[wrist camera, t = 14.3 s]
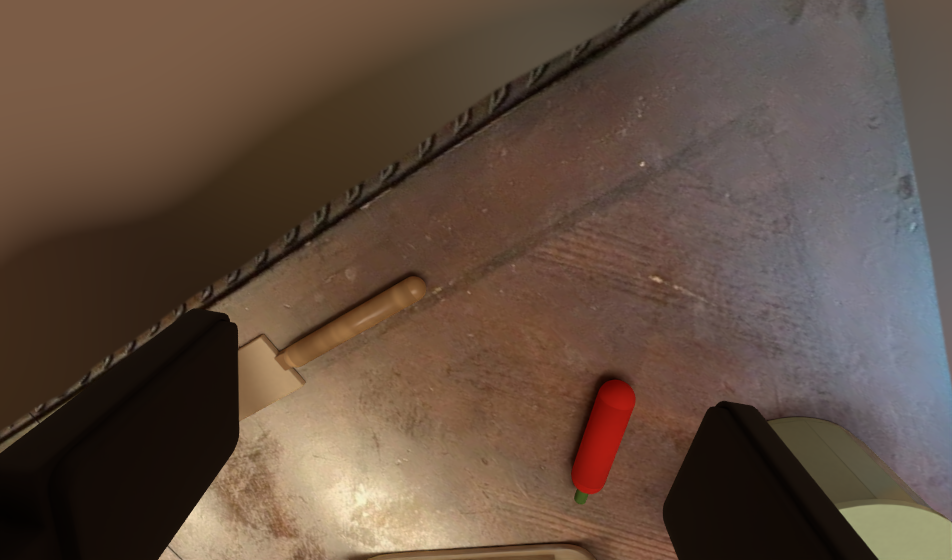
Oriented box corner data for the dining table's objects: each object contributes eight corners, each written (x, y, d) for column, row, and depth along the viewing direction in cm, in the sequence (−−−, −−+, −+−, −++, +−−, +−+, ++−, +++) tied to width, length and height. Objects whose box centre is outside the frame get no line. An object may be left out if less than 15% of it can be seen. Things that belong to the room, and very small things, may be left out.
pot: (730, 403, 38) (792, 486, 30) (902, 433, 39) (1007, 522, 31) (668, 530, 44) (707, 629, 36) (820, 555, 44) (890, 657, 36)
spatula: (405, 249, 34) (401, 257, 32) (445, 305, 35) (442, 316, 34) (197, 373, 38) (183, 386, 37) (240, 418, 40) (229, 432, 38)
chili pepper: (631, 399, 34) (646, 386, 36) (596, 380, 36) (613, 368, 38) (585, 519, 39) (601, 501, 41) (557, 498, 40) (573, 481, 42)
